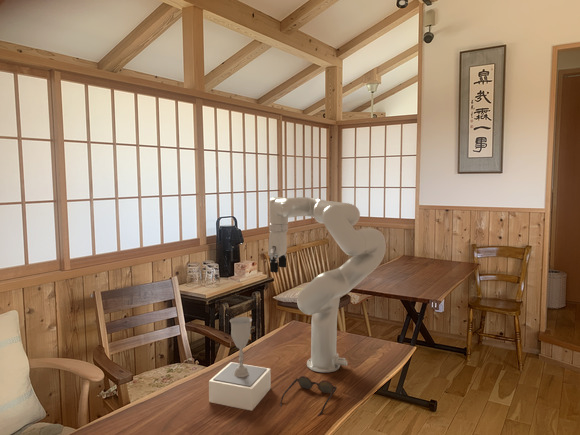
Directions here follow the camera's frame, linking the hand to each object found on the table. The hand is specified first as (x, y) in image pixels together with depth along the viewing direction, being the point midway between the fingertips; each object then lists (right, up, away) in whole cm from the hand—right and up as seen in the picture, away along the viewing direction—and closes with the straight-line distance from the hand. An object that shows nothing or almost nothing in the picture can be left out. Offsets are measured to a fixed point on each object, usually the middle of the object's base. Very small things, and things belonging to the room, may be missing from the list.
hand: (278, 269), depth 181 cm
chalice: (-11, -30, -36) cm, 48 cm away
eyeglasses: (+11, -38, -38) cm, 55 cm away
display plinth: (-11, -37, -35) cm, 52 cm away
